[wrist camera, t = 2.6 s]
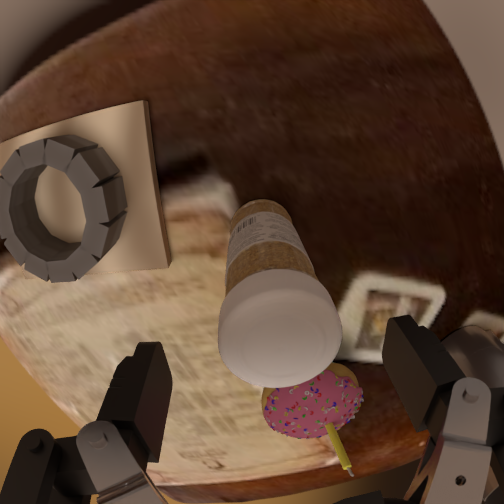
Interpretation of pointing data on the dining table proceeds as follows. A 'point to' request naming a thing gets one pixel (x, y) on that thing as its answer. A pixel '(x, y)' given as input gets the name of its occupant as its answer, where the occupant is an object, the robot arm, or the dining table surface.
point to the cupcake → (315, 407)
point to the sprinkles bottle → (274, 303)
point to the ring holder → (84, 196)
